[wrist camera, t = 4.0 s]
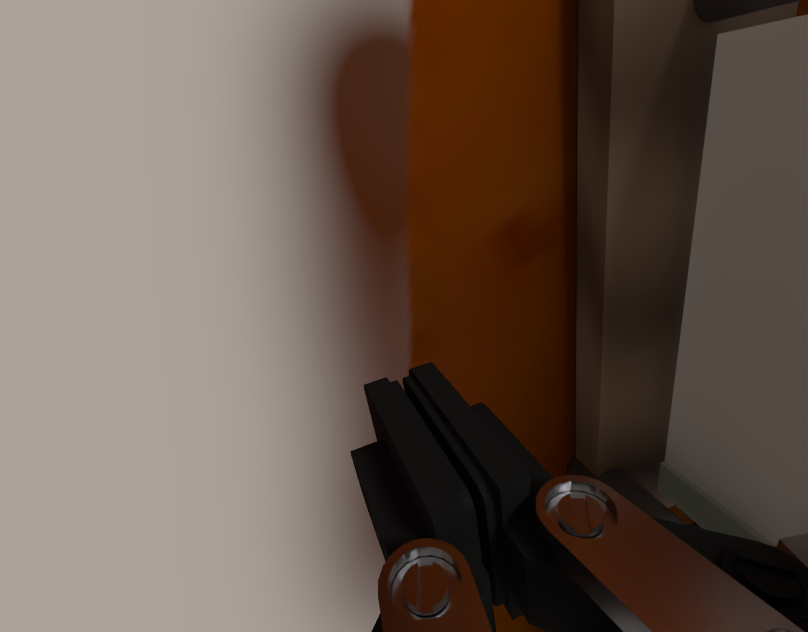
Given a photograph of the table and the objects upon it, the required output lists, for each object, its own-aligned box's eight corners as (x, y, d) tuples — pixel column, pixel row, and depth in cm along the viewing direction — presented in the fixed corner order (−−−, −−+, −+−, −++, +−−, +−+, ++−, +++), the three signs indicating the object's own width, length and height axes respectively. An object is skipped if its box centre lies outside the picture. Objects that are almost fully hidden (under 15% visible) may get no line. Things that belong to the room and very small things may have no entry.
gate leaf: (708, 35, 10) (1139, -60, 5) (758, 26, 11) (1206, -71, 6) (655, 491, 17) (827, 638, 12) (687, 475, 17) (868, 612, 12)
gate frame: (563, -116, 10) (1415, -782, 3) (773, -128, 11) (1670, -578, 4) (567, 525, 19) (763, 757, 12) (682, 470, 20) (918, 647, 13)
